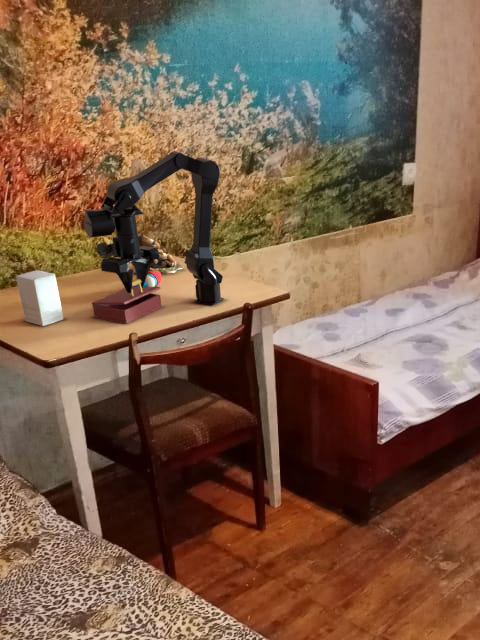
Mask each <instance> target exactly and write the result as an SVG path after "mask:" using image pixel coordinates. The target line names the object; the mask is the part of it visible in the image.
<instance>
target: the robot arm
mask: <svg viewBox="0 0 480 640" xmlns="http://www.w3.org/2000/svg"><path fill="white" fill-rule="evenodd" d="M180 170H184V171H187V172H189V173H190V175H191V182H192V185H193V188H194V191H195V196H194V202H195V203H194V215H193V217H194V218H193V239H192V240H193V241H192V245H191V247H190V249H187V248H185V250H184V253H185V260H184V262H183V263H184V264H185V265H186V269H187V271H188V272H189V273H190V274H192V277H193V279H195V298H196V299H195V300H194V303H197V304H202V305H208V306H215V305H217V304H218V303H221V302H222V301H225V298H224V297H222V295H221V284H222V282H223V277H224V276H223V275H222V274H221V273H220V272H219V271H217V270H216V269H215V262H214V261H215V260H214V256H213V252H212V250H211V234H212V233H211V232H212V213H213V198H214V197H213V196H214V194H215V191H216V190H217V187H218V185H219V182H220V181H219V180H220V177H221V167H220V166H219V165H218V163H216V161H214V160H211V159H207V158H205V157H201V156H200V157H196V158H193V157H190V156H188V155H185V154H184V153H183V152H180V151H176V150H173V151H171V152H169V154H168V155H166V156H165V157H163V158H160V160H158V161H156V162H154V163H153V164H151V165H149V166H148V167H146V168H145V169H142V171H140V172H138V173H137V174H135V175H132V176H128V177H124V178H120V179H118V180H115V181H113V182H111V183H109V185H108V186H107V189H106V196H105V198H104V200H103V202H102V204H101V205H100V208H98V209H84V214H85V215H84V218H83V227H84V230H85V233H86V235H87V236H88V238H90V239H92V238H99V237H107V236H112V235H113V234H114V233H115V236H113V237H112V242H111V243H108V244H107V243H106V242H105V241H102V242H100V243H97V244H96V251H97V254H98V255H99V256H100V257H103V259H102V260H101V262H100V263H99V264H100V270H101V271H102V272H105V273H111V274H112V273H113V274H116V275H117V277H118V278H119V280H120V281H121V283H122V285H123V287H124V289H126V291H127V293H131V291H132V281H134V279H133V278H134V273H133V269H134V268H135V276H136V279H141V281H142V282H141V287H142V288H143V286H144V283H145V280H146V277H147V274H148V272H149V269H150V267H151V264H152V263H153V261H149V258H148V256H149V257H151V258H152V260H155V259H157V258H160V257H159V251H158V250H157V248H156V247H149V246H141V247H140V245H139V241H140V240H142V235H139V232H138V223H137V217H136V216H140V215H141V216H142V215H143V214H144V212H143V211H142V210H141V209H140V208H138V206H137V205H136V204H137V203H138V202H139V201H140V200H141V199H142V197H143V196H144V194H145V193H146V192H147V191H148V190H150V189H152V188H153V187H154V186H156V185H158V184H160V183H162V182H163V181H165V180H166V179H168V178H169V177H170V176H172V175H174V174H176V173H177V172H179V171H180ZM130 264H131V266H133V269H132V268H130Z"/></svg>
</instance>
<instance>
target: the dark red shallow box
mask: <svg viewBox="0 0 480 640" xmlns="http://www.w3.org/2000/svg"><path fill="white" fill-rule="evenodd" d="M161 308H162V299H161V294H158V293H153V292H152V293H150V294H148V295H145V296H143V297H141V298H138V299H136V300H134V301H132V302H129V303H127V304H92V310H93V311H92V312H93V318H95V319H100V320H106V321H111V322H114V323H115V322H116V323H120V324H129V323H131V322H134V321H135V320H138V319H140V318H142V317H144V316H146V315H148V314H150V313H152V312H155V311H156V310H159V309H161Z"/></svg>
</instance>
